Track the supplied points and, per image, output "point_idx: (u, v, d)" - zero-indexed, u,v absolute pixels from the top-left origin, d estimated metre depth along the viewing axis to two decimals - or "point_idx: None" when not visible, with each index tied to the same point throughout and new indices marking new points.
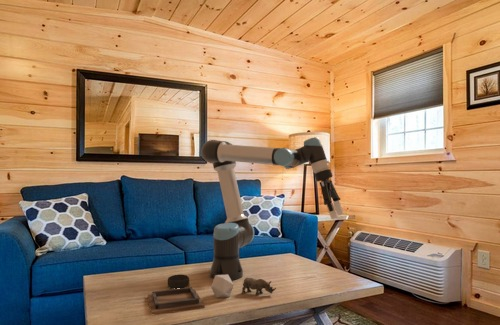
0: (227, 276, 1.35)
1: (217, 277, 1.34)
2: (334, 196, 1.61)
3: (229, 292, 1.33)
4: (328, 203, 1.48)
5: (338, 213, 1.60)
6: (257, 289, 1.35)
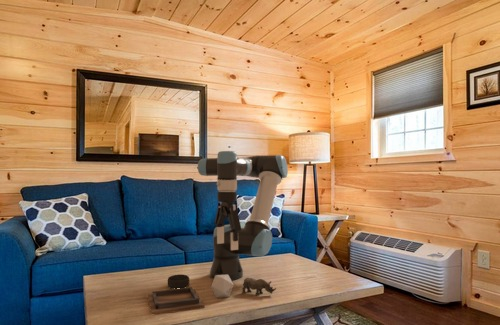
0: (227, 276, 1.35)
1: (217, 277, 1.34)
2: None
3: (229, 292, 1.33)
4: None
5: None
6: (257, 289, 1.35)
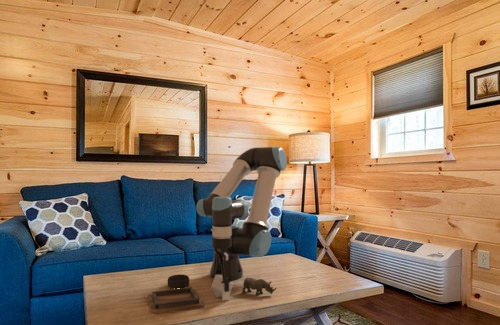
0: None
1: (217, 277, 1.34)
2: None
3: None
4: None
5: None
6: (257, 289, 1.35)
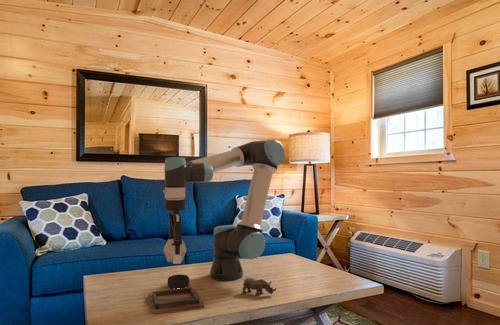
0: None
1: (169, 241, 1.28)
2: None
3: (182, 256, 1.27)
4: None
5: None
6: (257, 289, 1.35)
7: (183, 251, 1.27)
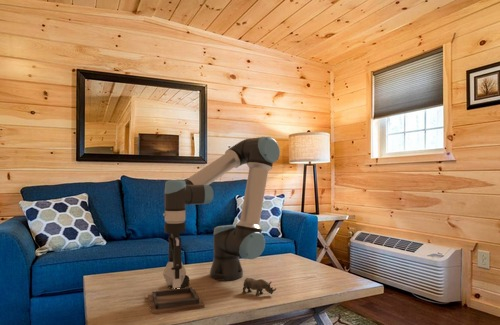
0: None
1: (169, 264, 1.28)
2: None
3: (181, 279, 1.27)
4: None
5: None
6: (257, 289, 1.35)
7: (183, 275, 1.27)
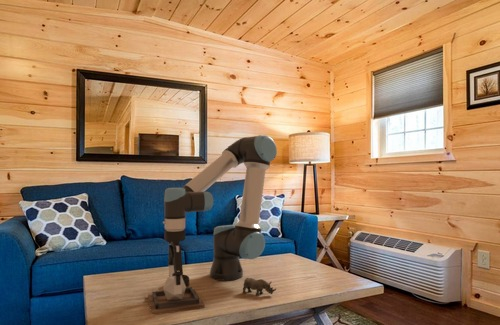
0: None
1: (169, 279, 1.29)
2: None
3: (181, 295, 1.27)
4: None
5: None
6: (257, 289, 1.35)
7: (183, 290, 1.27)
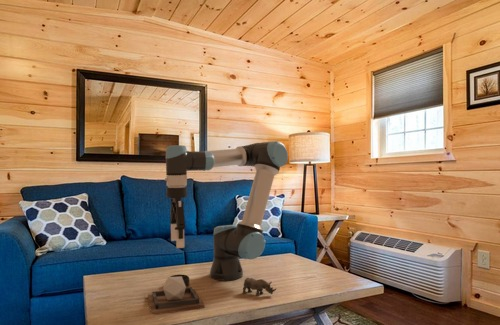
0: (180, 278, 1.30)
1: (169, 279, 1.29)
2: None
3: (181, 295, 1.27)
4: None
5: None
6: (257, 289, 1.35)
7: (183, 290, 1.27)
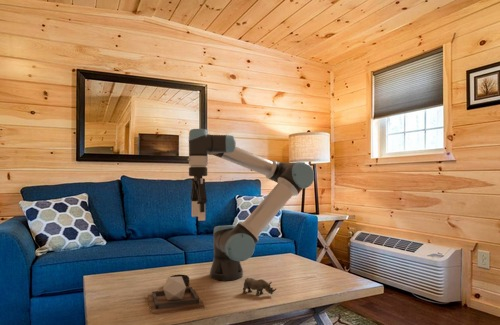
0: (180, 278, 1.30)
1: (169, 279, 1.29)
2: None
3: (181, 295, 1.27)
4: None
5: None
6: (257, 289, 1.35)
7: (183, 290, 1.27)
